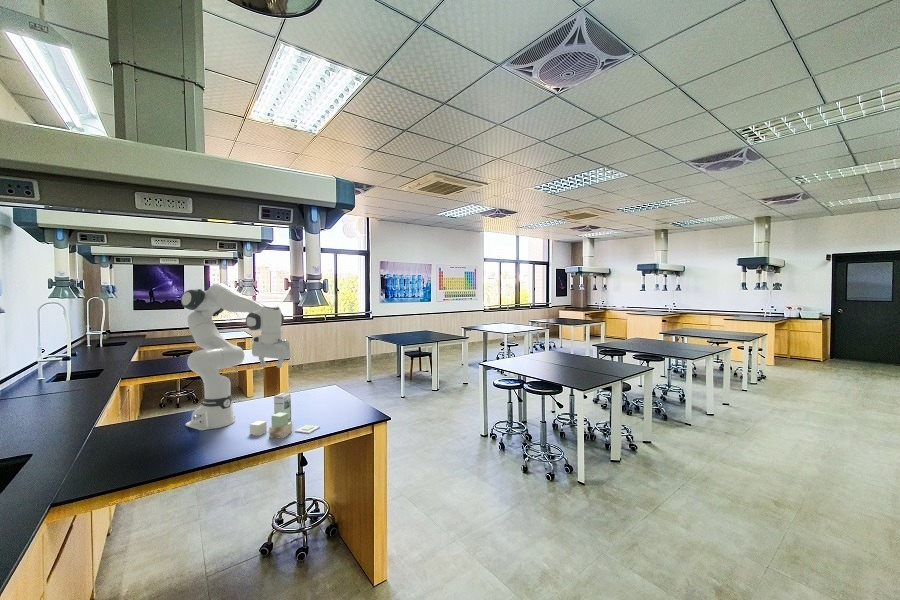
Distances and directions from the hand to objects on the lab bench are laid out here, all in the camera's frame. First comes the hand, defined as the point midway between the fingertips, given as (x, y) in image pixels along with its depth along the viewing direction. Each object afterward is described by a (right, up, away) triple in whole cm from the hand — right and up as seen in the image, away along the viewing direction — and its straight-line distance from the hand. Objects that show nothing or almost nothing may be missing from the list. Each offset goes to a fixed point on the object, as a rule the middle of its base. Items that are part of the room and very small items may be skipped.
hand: (271, 366), depth 176 cm
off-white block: (-4, -31, -4) cm, 32 cm away
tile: (+18, -31, 0) cm, 36 cm away
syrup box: (+1, -31, +10) cm, 32 cm away
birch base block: (+8, -31, -6) cm, 33 cm away
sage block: (+8, -26, -7) cm, 28 cm away
